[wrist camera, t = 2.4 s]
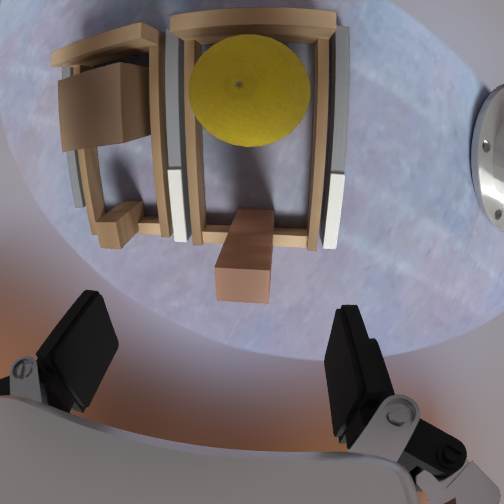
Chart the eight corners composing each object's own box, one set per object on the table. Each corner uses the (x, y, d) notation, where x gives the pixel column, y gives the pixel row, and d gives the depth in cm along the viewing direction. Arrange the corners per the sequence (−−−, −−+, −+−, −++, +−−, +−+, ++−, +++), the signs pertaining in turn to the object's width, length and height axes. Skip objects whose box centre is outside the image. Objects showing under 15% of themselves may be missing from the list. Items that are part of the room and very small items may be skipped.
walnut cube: (154, 68, 15) (120, 61, 11) (156, 133, 17) (123, 142, 13) (98, 80, 15) (58, 80, 12) (101, 139, 18) (62, 152, 14)
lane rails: (344, 32, 13) (350, 26, 11) (331, 237, 19) (335, 249, 18) (174, 33, 14) (164, 28, 12) (182, 230, 20) (174, 241, 19)
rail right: (82, 56, 14) (70, 55, 13) (93, 200, 20) (83, 207, 18) (74, 59, 14) (62, 58, 13) (86, 200, 20) (75, 207, 19)
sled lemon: (324, 30, 13) (351, -14, 6) (314, 239, 20) (327, 310, 13) (192, 31, 14) (140, -5, 7) (199, 234, 20) (162, 299, 14)
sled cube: (168, 35, 14) (141, 21, 10) (177, 227, 20) (156, 254, 17) (86, 55, 14) (51, 52, 11) (102, 226, 21) (74, 249, 17)
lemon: (195, 108, 16) (136, 114, 9) (244, 37, 14) (217, -10, 7) (269, 154, 17) (261, 190, 10) (321, 85, 15) (353, 68, 8)
